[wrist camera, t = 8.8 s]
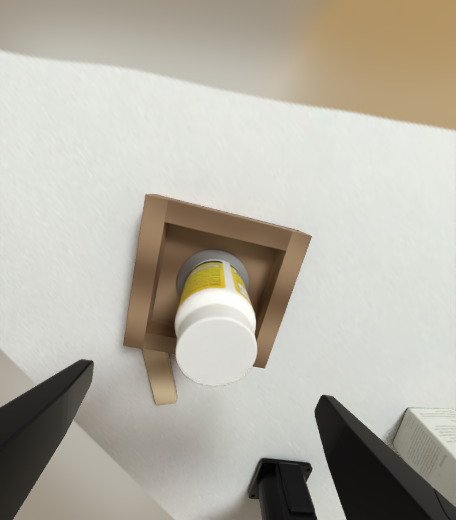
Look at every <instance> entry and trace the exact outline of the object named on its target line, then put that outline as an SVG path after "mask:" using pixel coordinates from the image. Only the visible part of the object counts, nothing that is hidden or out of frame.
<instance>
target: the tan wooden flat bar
mask: <svg viewBox="0 0 456 520" xmlns="http://www.w3.org/2000/svg"><path fill="white" fill-rule="evenodd" d="M142 351H143V355H144V359H145V363H146V367H147V371H148V375H149V379H150V383H151V386H152V390H153V394H154V398H155V402H156V405H164V404H171V403H176V402H177V391H176V387H175V382H174V377H173V373H172V368H171V363H170V359H169V354H168V353H166V352H160V351H154V350H148V349H142Z"/></svg>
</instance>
